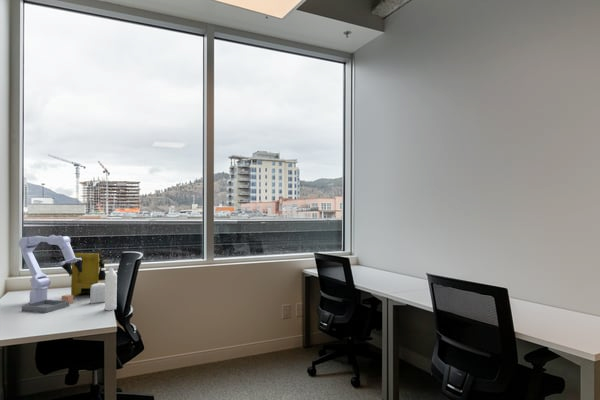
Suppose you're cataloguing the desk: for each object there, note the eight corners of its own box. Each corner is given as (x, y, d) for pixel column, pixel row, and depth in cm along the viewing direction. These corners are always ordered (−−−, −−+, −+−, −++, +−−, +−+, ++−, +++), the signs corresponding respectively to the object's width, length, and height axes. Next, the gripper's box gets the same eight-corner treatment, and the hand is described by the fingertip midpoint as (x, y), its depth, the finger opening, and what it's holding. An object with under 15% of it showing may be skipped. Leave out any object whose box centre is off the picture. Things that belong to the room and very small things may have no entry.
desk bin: (21, 310, 222) (21, 305, 222) (45, 304, 237) (45, 299, 237) (46, 312, 217) (46, 307, 217) (69, 306, 233) (69, 301, 233)
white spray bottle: (115, 307, 231) (116, 266, 232) (117, 309, 226) (118, 268, 226) (99, 309, 226) (100, 267, 227) (101, 311, 221) (102, 269, 221)
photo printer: (107, 300, 248) (107, 281, 248) (108, 301, 244) (108, 282, 245) (89, 302, 242) (90, 283, 243) (90, 304, 239) (90, 284, 239)
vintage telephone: (118, 292, 272) (119, 251, 273) (109, 297, 258) (110, 253, 259) (74, 292, 271) (75, 251, 272) (63, 297, 257) (64, 253, 258)
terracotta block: (61, 303, 239) (61, 295, 239) (66, 302, 243) (66, 294, 243) (67, 304, 238) (68, 296, 238) (73, 302, 242) (73, 294, 242)
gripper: (63, 252, 232) (71, 273, 231) (82, 249, 246) (89, 268, 245) (55, 257, 233) (63, 277, 232) (74, 254, 247) (81, 272, 246)
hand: (76, 273), depth 238 cm, fingers open, 7 cm apart
